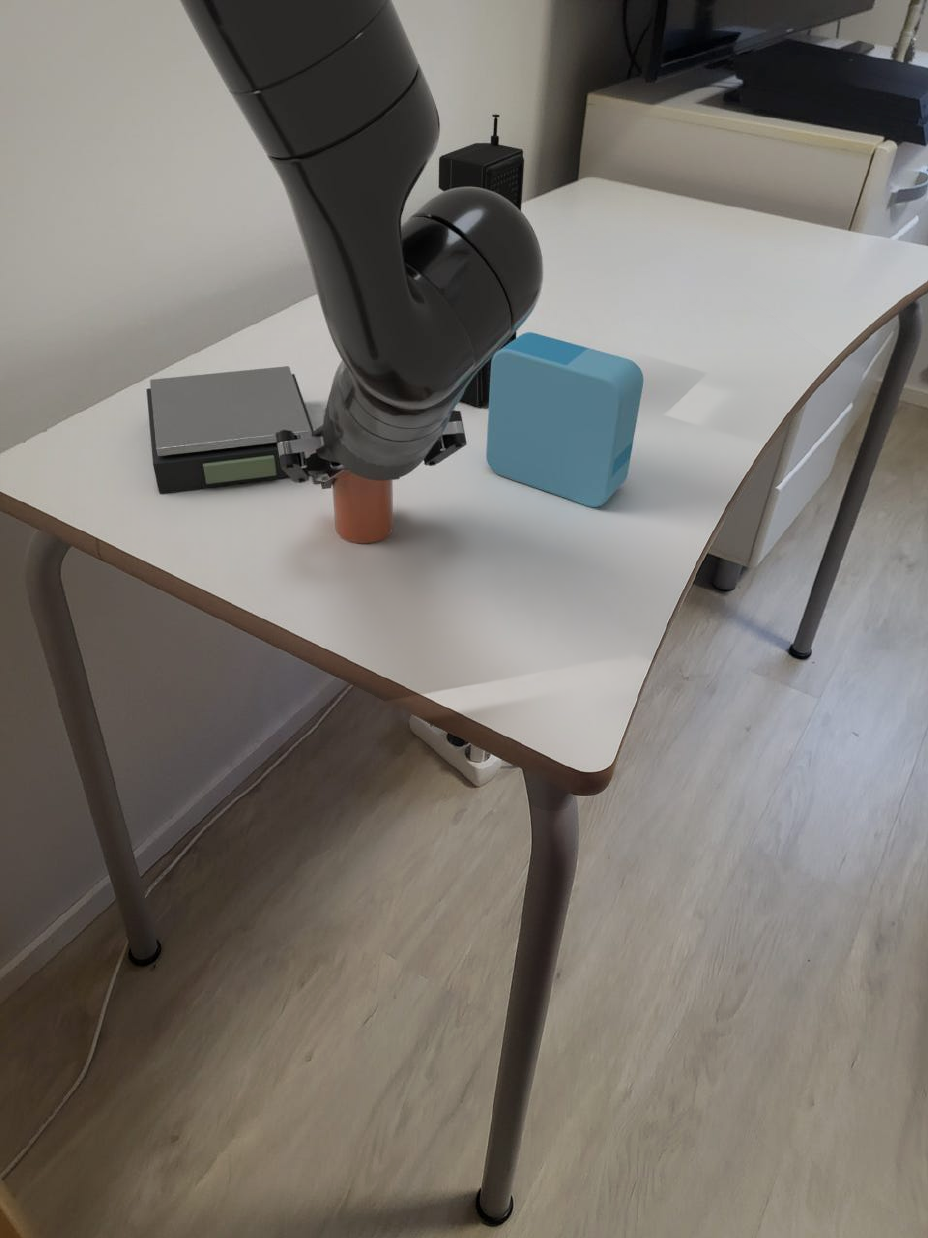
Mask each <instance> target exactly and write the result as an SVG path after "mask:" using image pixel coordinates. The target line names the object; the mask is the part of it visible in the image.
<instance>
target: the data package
mask: <svg viewBox="0 0 928 1238" xmlns="http://www.w3.org/2000/svg"><path fill="white" fill-rule="evenodd" d="M643 386H644V375H643V371H642V370H641V368H640V366H639V365H638V363H636V362H635V361H633V360H632V359H629V358H626V357H622V356H619V355H615V354H611V353H607V352H604V351H600V350H597V349H594V348H590V347H585V346H582V345H579V344H576V343H573V342H568V341H565V340H562V339H558V338H554V337H550V336H547V335H543V334H539V333H535V332H533V331H528V332H524V333H522V334H520V335H518V337H517V336H516V339H515V340H513V341H512V342H510V343H509V344H508V345H506V346H505V347H503V348H502V349H500V350H499V351H498V352H496V353H495V355H494V356H493V358H492V362H491V377H490V395H489V402H488V413H487V415H488V417H487V434H486V452H485V455H486V462H487V464H488V466H489V468H490V469H491V470H492V471H493V472H494V473H495V474H496V475H498V476H501V477H504V478H506V479H509V480H512V481H515V482H518V483H520V484H524V485H526V486H530V487H532V488H535V489H538V490H541V491H544V492H547V493H549V494H552V495H555V496H558V497H561V498H564V499H567V500H569V501H572V502H575V503H578V504H581V505H584V506H587V507H589V508H590V507H591V508H597V507H600V506H602V505H604V504H605V503H606V502H607V501H608V500H609V499H610V498H611V497H612V496H613V495H614V493H615V492H616V491H617V490H618V489H619V488H620V487H621V486H622V485H623V483H624V482H625V481H626V480H627V478H628V475H629V469H630V463H631V457H632V452H633V447H634V440H635V434H636V428H637V422H638V415H639V409H640V404H641V398H642V393H643V388H644V387H643Z"/></svg>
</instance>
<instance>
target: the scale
mask: <svg viewBox="0 0 928 1238" xmlns="http://www.w3.org/2000/svg"><path fill="white" fill-rule="evenodd" d="M291 374H292V376H293V379H294V382H295V385H296V388H297V391H298V394H299V397H300V400H301V403H302V405H303V408H304V411H305V414H306V417H307V420H308V423H309V426H310V429H311V433H312V437H313V434H314V431H315V429H314V426H313V424H312V421H311V418H310V415H309V412H308V409H307V406H306V403H305V401H304V398H303V394H302V392H301V389H300V387H299V384H298V381H297V377H296V375H295V373H291ZM146 401H147V413H148V423H149V434H150V446H151V447H150V448H151V457H152V466H153V471H154V476H155V481H156V485H157V490H158V493H159V495H160V494H161V495H162V494H169V493H177V492H185V491H193V490H200V489H208V488H215V487H216V488H218V487H225V486H232V485H240V484H248V483H256V482H264V481H272V480H277V479H278V480H280V479H287V478H290V477H289V476H288V475H287V474H286V473H285V471H284V470H283V469H282V468H281V464H280V458H279V453H278V447H277V443H270V444H261V445H253V446H244V447H236V448H227V449H219V450H210V451H202V452H193V453H184V454H176V455H167V456H158V454H157V449H156V439H155V428H154V418H153V407H152V397H151V387H150V388H146Z"/></svg>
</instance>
